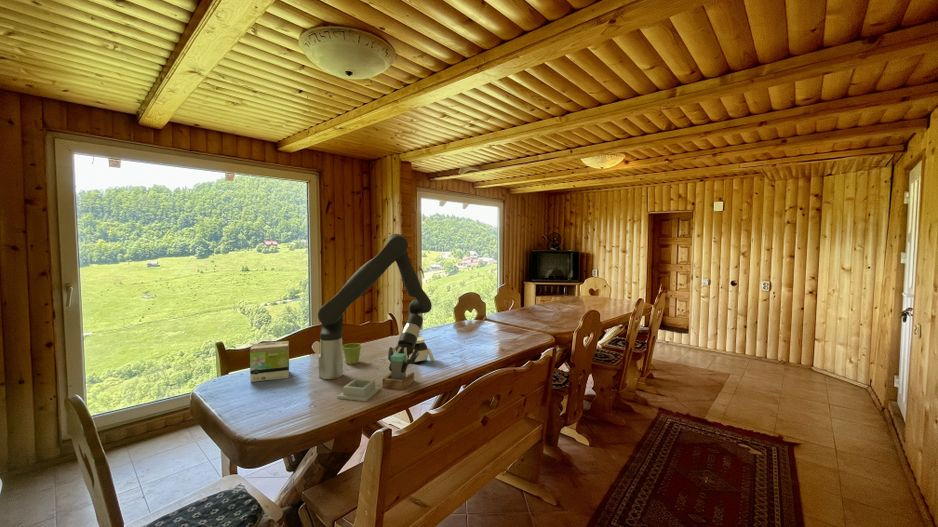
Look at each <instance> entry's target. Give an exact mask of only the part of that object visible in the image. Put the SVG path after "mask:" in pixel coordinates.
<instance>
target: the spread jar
mask: <svg viewBox="0 0 938 527" xmlns="http://www.w3.org/2000/svg"><path fill="white" fill-rule="evenodd" d="M414 350H417V351H418V352H419V355H418V356H417V358H416V359H415V361H414V363H413V364H415V365H420V364H424V363H425V362H426V361H427V360H428V357H429V359H430V361H431V362H434V361H435V359H434V356H433V353H432V350H431V348H430V347H428V346H427V343H426V342H425V337H423V336H421V337H420V336H418V339H417V341H416V344H415V347H414ZM412 354H413V353H412ZM412 354H410V355H409V359H410V357H411V356H412ZM413 364H412V365H413Z"/></svg>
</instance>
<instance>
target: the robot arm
mask: <svg viewBox="0 0 938 527" xmlns="http://www.w3.org/2000/svg"><path fill="white" fill-rule="evenodd" d="M408 248H409V243H408V240H407V239H406V238H405V236H403V235H402V234H401V233H400V234H399V233H393V234H390V235H389V236H388V238H386V243H385V245H384V246H383V248H382V249H381V250H380V251H379V252H378V254H377V255H375V256H374V257H373V258H372V259H371V258H370V260H368V261H367V262H366V263H364V264H363V265H362V266H361V267H359V268H358V269H357V270H356V272H354V273H353V274H352V275H351V277H349V279H348V280H347V281H346V282H345V284H343V286H342V288H341V289H340V290H339V291H338V292H337V293H336V294H335V295H334V296H333V297H332V298H331V299H330V300H328V301H327V302H326V303H324V304H323V305H322V306H320V308H319V310H318V312H317V318H318V320H319V322H320V324H321V326H320V332H319V341H320V342H319V346H320V349H319V350H320V354H319V356H318V378H321V379H323V380H335V379H339V378H342V377H343V375H344V373H343V372H344V369H343V368H344V367H343V357H344V356H343V348H342V346H343V329H344V328H343V327H344V313H345V311H346V310H348V308H349V307H350V306H351V305H352V304H353V303H354V302H355V301H357V299H358V298H360V297H362V295H364V294H365V293H367V291H368V290H369V289H370V288H371V287H372V286H373V285H374V284H376V282H377V281H378V280H379V279H380V278H381V277H382V275H383V274H384V273H385V272H386V271H387V269H389V267H390V266H391V265H393V263H395V262H396V265H397V268H398V271H399V273H400V277H401V280H402V282H403V286H404V287H405V288H404V289H405V290H406V293H407V295H408V297H411V298H414V299H413V300H411V302H409V305H408V315H407V320H406V322H405V325H404V327H403V329H402V331H401V334H400V337H399V339H398V342H397V345H396V346H395V347H392V346H390V347H389V348H388V355H387V359H388V361H389V362H390V364H389V366H388V370H389V371H390V372H391V356H392V355H393V354H395V353H402V354H406V355H405V359H404V363H403V365H402V369H401V372H402V373H404V372H405V371H407V369H408V366H409V365H413V363H414V361H415V359H416V358H417V356H418V355H419V352H418V351H417V350H414V347H415V344H416V341H417V339H418V337H420V336H419V335H420V332H421V328H422V325H423V322H424V319H423V316H421V315H422V314H427V313H430V311H431V310H432V306H433V305H432V301H431V299H430V298H429V296H428V295H427V294H426V292H425V290H423V288H422V285H421V282H420V280H419V277H418V275H417V273H416V271H415V269H414V268H415V267H414V266H413V265H412V262H411V259H410V257H409V253H408ZM419 314H421V315H419ZM412 353H413V354H412ZM410 354H412V356H411V357H410V359H409V355H410Z"/></svg>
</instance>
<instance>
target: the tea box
mask: <svg viewBox="0 0 938 527" xmlns="http://www.w3.org/2000/svg"><path fill="white" fill-rule="evenodd" d="M249 374H250V383H255V382H261V381H262V382H263V381H270V380H271V381H272V380H280V379H288V378H289V376H290V341H289V340H285V341H283V340H282V341H272V342H258V343H252V345H251V347H250V349H249Z"/></svg>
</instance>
